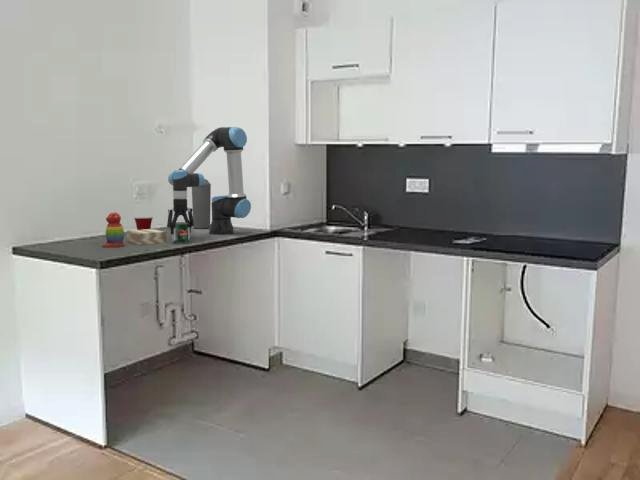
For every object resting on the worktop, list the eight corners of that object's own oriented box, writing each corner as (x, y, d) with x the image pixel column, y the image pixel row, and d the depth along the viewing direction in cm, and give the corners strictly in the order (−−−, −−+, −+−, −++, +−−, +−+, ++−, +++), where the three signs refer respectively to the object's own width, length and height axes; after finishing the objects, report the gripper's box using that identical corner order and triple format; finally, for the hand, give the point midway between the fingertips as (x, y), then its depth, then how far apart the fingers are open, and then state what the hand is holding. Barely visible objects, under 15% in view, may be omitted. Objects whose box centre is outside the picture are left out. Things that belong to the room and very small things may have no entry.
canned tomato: (178, 241, 347) (177, 221, 346) (190, 242, 345) (190, 222, 344) (170, 243, 340) (170, 223, 338) (183, 244, 338) (183, 224, 336)
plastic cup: (152, 235, 369) (152, 215, 367) (154, 238, 359) (153, 217, 357) (133, 236, 365) (133, 215, 364) (134, 238, 355) (134, 217, 354)
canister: (197, 226, 416) (196, 174, 411) (214, 227, 412) (214, 174, 407) (188, 228, 403) (187, 174, 399) (206, 229, 400) (205, 175, 395)
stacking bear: (108, 244, 333) (107, 211, 330) (127, 244, 333) (126, 211, 330) (101, 247, 322) (100, 213, 320) (120, 247, 322) (119, 213, 319)
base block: (153, 239, 354) (153, 228, 354) (166, 242, 342) (166, 231, 342) (127, 241, 344) (126, 230, 343) (139, 244, 332) (139, 233, 331)
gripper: (193, 197, 349) (194, 237, 352) (159, 198, 335) (160, 240, 338) (200, 198, 343) (200, 238, 346) (165, 199, 330) (166, 241, 333)
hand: (180, 239), depth 342 cm, fingers closed on canned tomato, 8 cm apart
